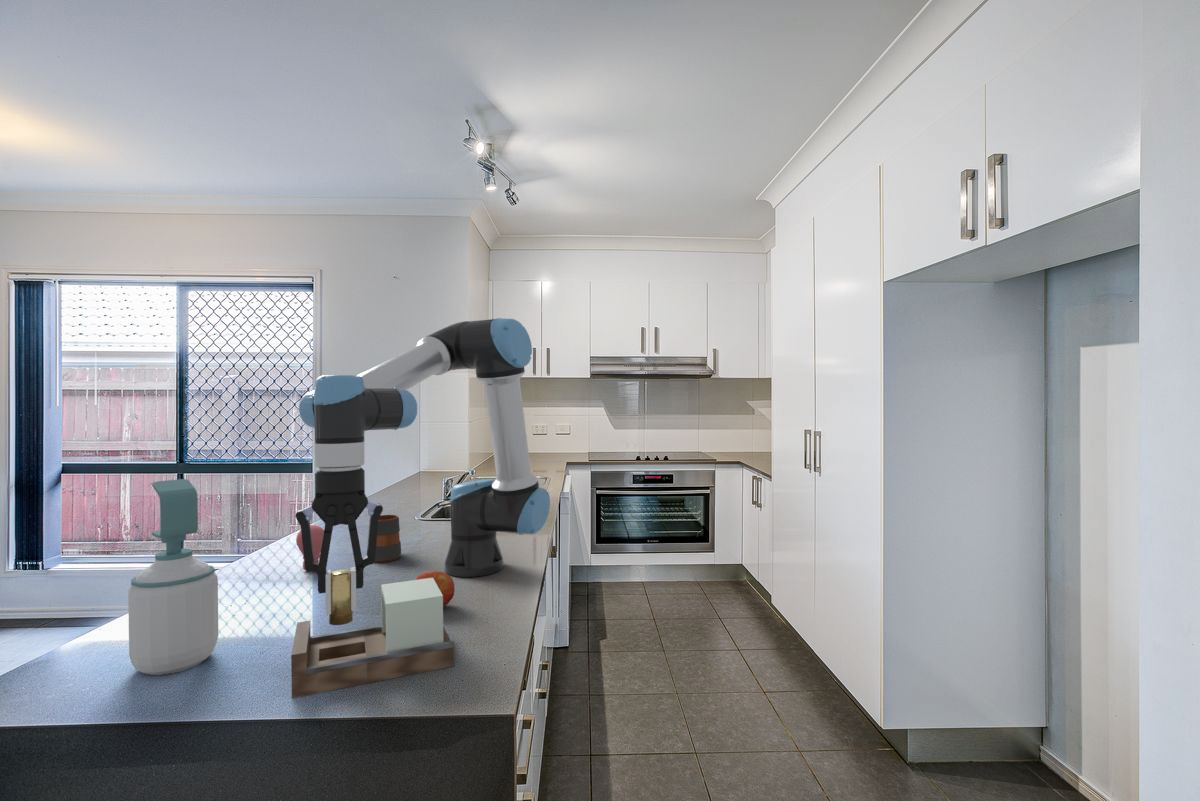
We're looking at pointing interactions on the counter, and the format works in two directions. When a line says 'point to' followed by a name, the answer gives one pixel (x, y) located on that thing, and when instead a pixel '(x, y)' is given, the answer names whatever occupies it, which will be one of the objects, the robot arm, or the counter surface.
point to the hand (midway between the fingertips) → (341, 609)
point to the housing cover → (412, 614)
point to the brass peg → (340, 598)
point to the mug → (388, 539)
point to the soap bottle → (173, 593)
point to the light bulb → (316, 542)
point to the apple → (441, 584)
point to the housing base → (357, 659)
